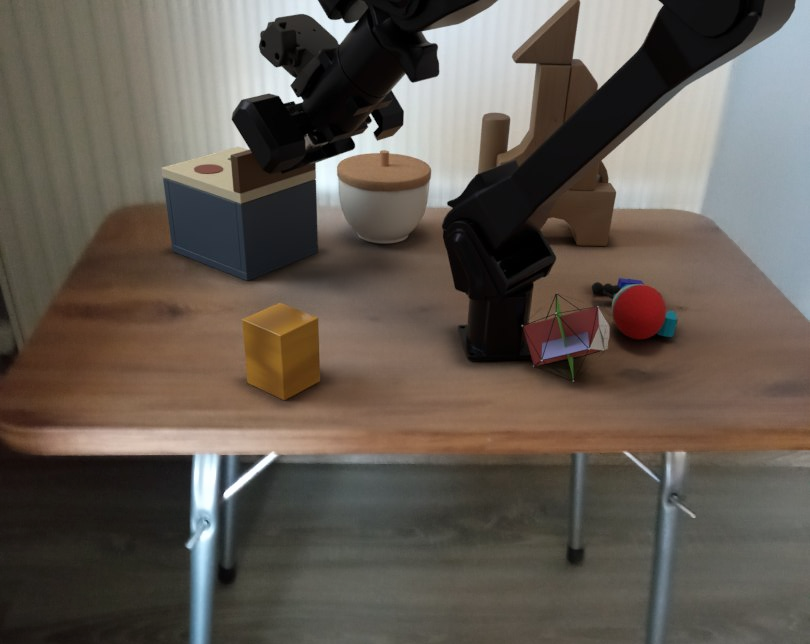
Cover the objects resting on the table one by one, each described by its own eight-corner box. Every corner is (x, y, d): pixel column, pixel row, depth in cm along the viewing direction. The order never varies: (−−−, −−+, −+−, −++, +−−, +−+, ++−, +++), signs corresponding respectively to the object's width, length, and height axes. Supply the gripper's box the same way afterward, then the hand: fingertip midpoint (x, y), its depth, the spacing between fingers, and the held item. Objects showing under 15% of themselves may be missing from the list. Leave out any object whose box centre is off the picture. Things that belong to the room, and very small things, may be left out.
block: (320, 381, 78) (318, 317, 75) (284, 400, 76) (280, 335, 72) (283, 364, 81) (280, 302, 77) (247, 383, 78) (241, 318, 74)
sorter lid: (316, 179, 96) (315, 134, 93) (241, 204, 89) (237, 157, 87) (238, 155, 102) (235, 113, 99) (162, 177, 95) (156, 132, 92)
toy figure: (582, 303, 97) (602, 343, 84) (593, 256, 94) (615, 291, 81) (651, 312, 97) (682, 355, 84) (663, 266, 94) (697, 302, 81)
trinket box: (427, 253, 102) (432, 168, 96) (334, 249, 102) (332, 163, 96) (427, 220, 111) (432, 140, 105) (341, 216, 110) (340, 136, 105)
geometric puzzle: (502, 360, 78) (568, 296, 74) (506, 325, 83) (568, 263, 79) (561, 409, 80) (629, 350, 76) (561, 372, 86) (624, 315, 81)
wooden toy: (596, 226, 111) (635, -8, 95) (607, 246, 106) (651, 2, 90) (472, 223, 110) (491, -13, 94) (477, 243, 105) (498, -3, 89)
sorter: (318, 252, 101) (316, 179, 96) (247, 281, 95) (241, 204, 90) (244, 225, 107) (238, 155, 102) (172, 251, 100) (162, 177, 95)
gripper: (384, -25, 84) (302, 83, 96) (237, -5, 72) (165, 114, 84) (446, 82, 85) (357, 175, 97) (311, 118, 74) (230, 219, 86)
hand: (282, 169), depth 91 cm, fingers closed
